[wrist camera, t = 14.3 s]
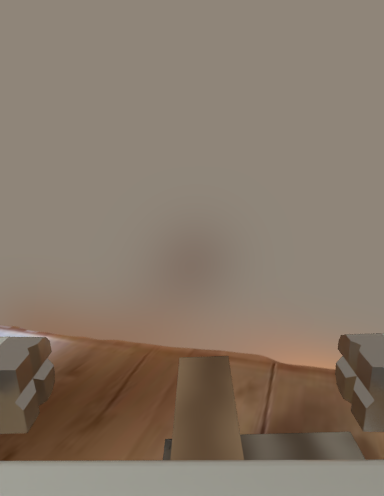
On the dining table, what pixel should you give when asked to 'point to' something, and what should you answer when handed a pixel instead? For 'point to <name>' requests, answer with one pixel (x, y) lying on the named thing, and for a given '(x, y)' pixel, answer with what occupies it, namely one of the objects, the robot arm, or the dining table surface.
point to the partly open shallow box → (294, 446)
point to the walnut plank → (205, 411)
